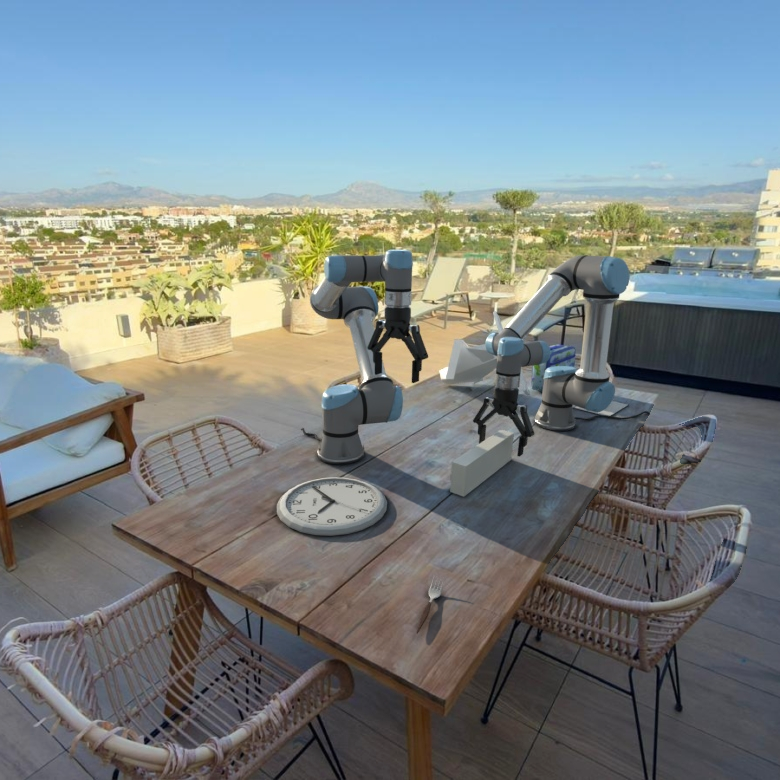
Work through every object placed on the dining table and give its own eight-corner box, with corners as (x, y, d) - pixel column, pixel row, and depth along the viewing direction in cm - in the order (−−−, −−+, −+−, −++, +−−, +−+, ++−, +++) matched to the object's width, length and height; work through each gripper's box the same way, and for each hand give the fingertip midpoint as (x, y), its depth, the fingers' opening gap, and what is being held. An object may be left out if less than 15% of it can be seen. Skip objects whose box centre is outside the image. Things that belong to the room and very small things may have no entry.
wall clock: (392, 527, 129) (268, 531, 127) (391, 533, 130) (269, 537, 127) (383, 473, 158) (282, 475, 155) (383, 478, 158) (282, 480, 156)
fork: (410, 633, 98) (410, 625, 97) (432, 582, 112) (433, 574, 112) (423, 637, 97) (423, 628, 96) (444, 585, 111) (445, 577, 111)
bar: (498, 455, 176) (500, 429, 173) (511, 459, 173) (513, 432, 170) (449, 491, 151) (451, 461, 148) (464, 496, 149) (466, 466, 146)
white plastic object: (461, 429, 252) (437, 405, 227) (444, 352, 274) (420, 323, 250) (535, 404, 240) (518, 377, 215) (510, 326, 262) (492, 293, 237)
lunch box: (547, 397, 237) (552, 352, 231) (526, 391, 245) (531, 348, 238) (574, 386, 255) (580, 344, 249) (554, 381, 262) (559, 340, 256)
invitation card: (608, 416, 214) (573, 407, 224) (608, 416, 214) (573, 408, 224) (628, 404, 229) (594, 396, 238) (628, 405, 229) (594, 397, 238)
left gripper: (355, 303, 153) (356, 373, 159) (427, 312, 139) (424, 388, 145) (371, 300, 159) (371, 368, 165) (442, 309, 144) (438, 382, 151)
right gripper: (465, 381, 168) (461, 443, 174) (540, 397, 154) (532, 463, 160) (476, 377, 174) (472, 436, 180) (549, 392, 160) (541, 456, 166)
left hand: (396, 377), depth 155 cm, fingers open, 13 cm apart
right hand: (500, 449), depth 170 cm, fingers open, 13 cm apart
